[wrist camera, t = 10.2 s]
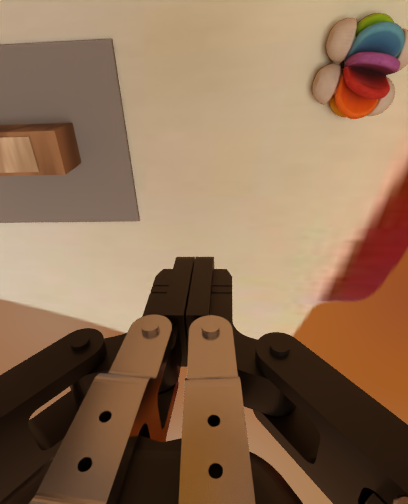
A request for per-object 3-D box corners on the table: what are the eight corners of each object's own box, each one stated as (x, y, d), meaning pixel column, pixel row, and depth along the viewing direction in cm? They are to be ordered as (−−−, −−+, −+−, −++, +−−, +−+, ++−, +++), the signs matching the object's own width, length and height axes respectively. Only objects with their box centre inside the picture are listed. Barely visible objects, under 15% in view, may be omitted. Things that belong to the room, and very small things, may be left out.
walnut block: (81, 162, 44) (-6, 165, 45) (72, 122, 42) (-20, 125, 43) (64, 175, 40) (-32, 177, 41) (53, 131, 37) (-49, 134, 38)
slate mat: (-6, 221, 50) (-8, 222, 50) (-74, 48, 39) (-77, 48, 39) (139, 220, 48) (139, 221, 48) (112, 38, 37) (110, 38, 37)
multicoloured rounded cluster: (302, 105, 40) (316, 115, 33) (335, 6, 35) (359, -5, 28) (371, 122, 40) (397, 134, 34) (413, 25, 35) (453, 19, 29)
